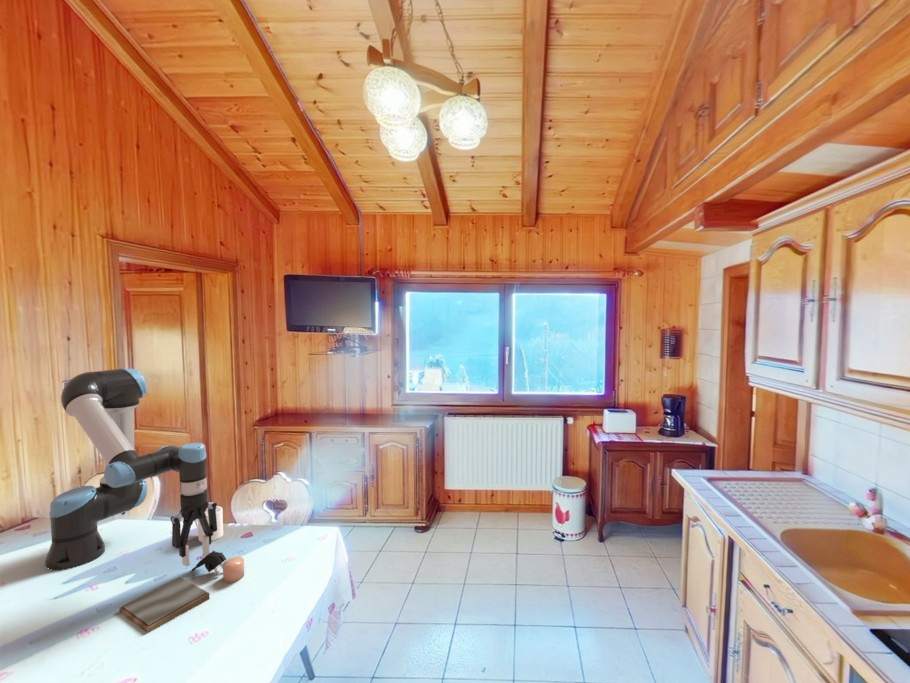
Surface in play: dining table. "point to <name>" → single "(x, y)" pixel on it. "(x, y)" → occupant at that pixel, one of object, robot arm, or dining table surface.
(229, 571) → the peach rounded cylinder
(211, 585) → the dining table surface
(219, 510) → the cup
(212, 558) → the power plug
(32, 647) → the dining table surface
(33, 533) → the dining table surface
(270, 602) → the dining table surface
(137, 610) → the stand
